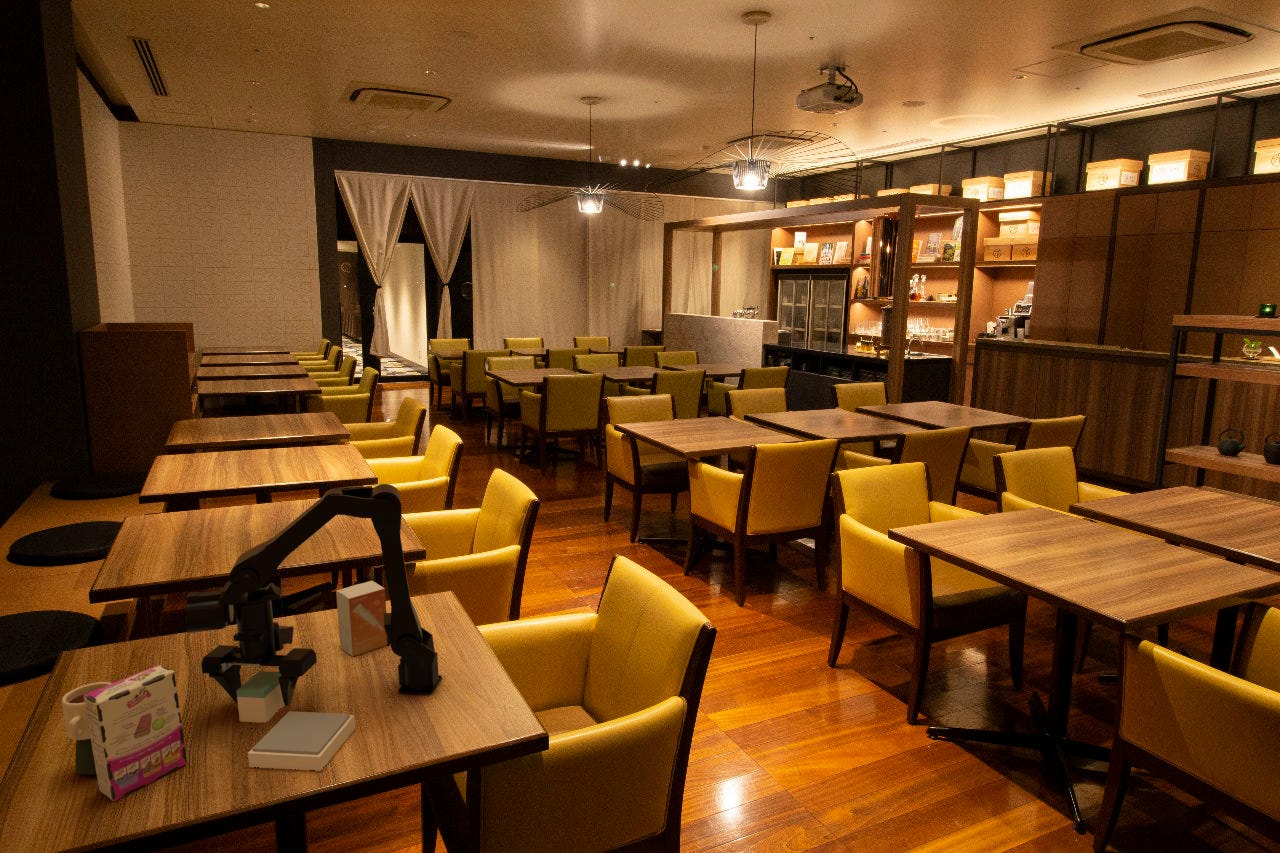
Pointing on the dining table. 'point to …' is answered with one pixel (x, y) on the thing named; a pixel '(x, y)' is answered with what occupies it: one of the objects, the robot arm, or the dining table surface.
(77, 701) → the character mug
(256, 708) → the cream carton
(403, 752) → the dining table surface
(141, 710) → the candy bar box
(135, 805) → the dining table surface
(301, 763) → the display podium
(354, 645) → the small box
